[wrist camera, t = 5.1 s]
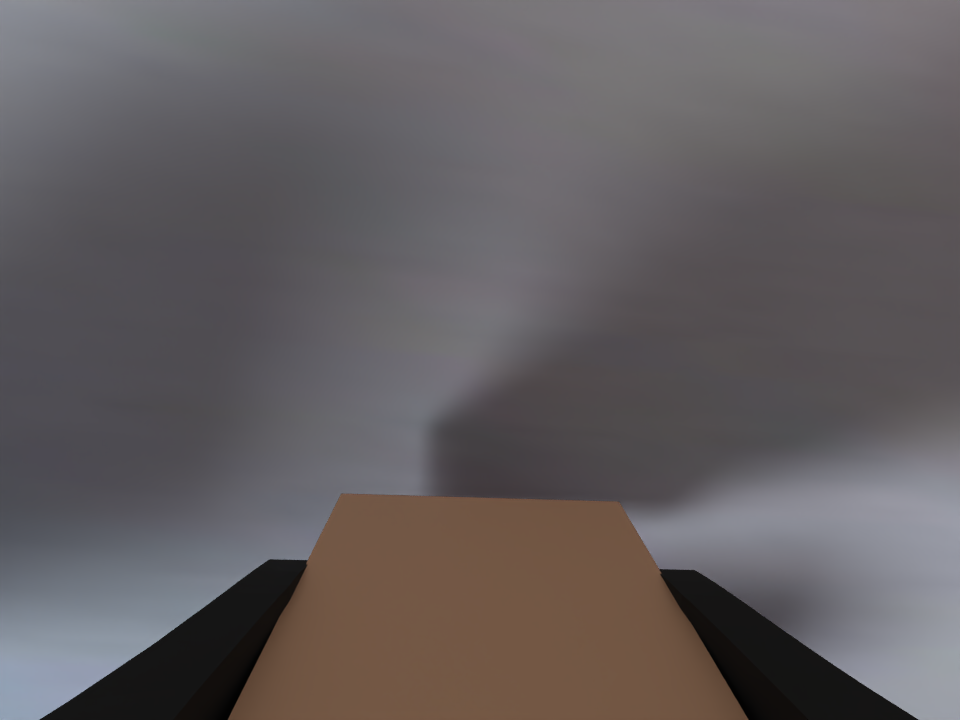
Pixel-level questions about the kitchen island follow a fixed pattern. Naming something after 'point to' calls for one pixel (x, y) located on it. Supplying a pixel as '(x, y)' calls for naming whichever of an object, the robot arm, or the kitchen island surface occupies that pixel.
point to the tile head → (482, 620)
